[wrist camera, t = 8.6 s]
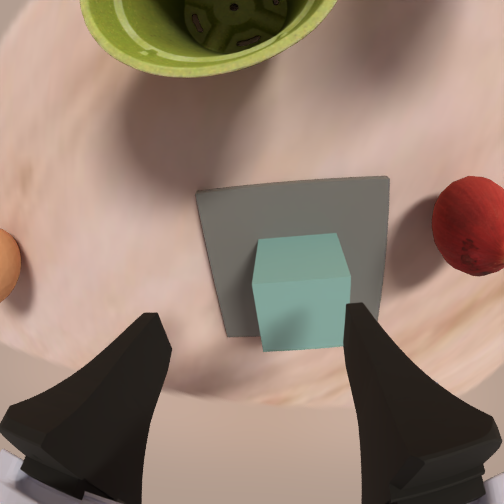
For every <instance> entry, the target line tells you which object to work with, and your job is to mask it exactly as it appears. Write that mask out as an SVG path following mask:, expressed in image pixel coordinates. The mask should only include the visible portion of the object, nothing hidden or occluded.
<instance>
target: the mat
mask: <svg viewBox="0 0 504 504" xmlns="http://www.w3.org/2000/svg"><path fill="white" fill-rule="evenodd" d="M389 188H390V179H389V178H388V177H387V176H372V177H348V178H330V179H314V180H300V181H287V182H276V183H264V184H254V185H244V186H235V187H226V188H217V189H209V190H200V191H197V192H196V193H195V196H196V200H197V205H198V210H199V215H200V220H201V225H202V229H203V234H204V239H205V243H206V248H207V252H208V257H209V261H210V266H211V270H212V274H213V279H214V283H215V287H216V291H217V296H218V300H219V304H220V308H221V312H222V316H223V321H224V325H225V329H226V333H227V337H256V336H261V335H260V329H259V323H258V317H257V312H256V306H255V300H254V294H253V288H252V280H253V273H254V266H255V260H256V253H257V246H258V239H268V238H280V237H292V236H304V235H317V234H329V233H337V236H338V239H339V242H340V245H341V248H342V251H343V254H344V257H345V260H346V263H347V266H348V269H349V272H350V275H351V289H350V303H359V302H363V303H364V304H365V306H366V307H367V308H368V310H369V311H370V313H371V314H372V315H373V317H374V318H375V319H376V321H378V315H379V308H380V301H381V293H382V285H383V277H384V267H385V257H386V245H387V232H388V215H389Z"/></svg>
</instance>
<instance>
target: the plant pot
mask: <svg viewBox="0 0 504 504" xmlns="http://www.w3.org/2000/svg"><path fill="white" fill-rule="evenodd" d="M336 2H337V0H279V3H278V5H274V2H273V0H80V6H81V11H82V14H83V17H84V20H85V24H86V26H87V28H88V30H89V31H90V33H91V35H92V36H93V38H94V39H95V40H96V41H97V43H98V44H99V45H100V46H101V47H102V48H103V49H104V50H105V51H106V52H107V53H108V54H109V55H110V56H112V57H113V58H115V59H116V60H118V61H120V62H122V63H124V64H126V65H128V66H130V67H132V68H135V69H137V70H140V71H143V72H146V73H149V74H154V75H158V76H165V77H175V78H195V77H208V76H214V75H220V74H225V73H229V72H233V71H238V70H241V69H244V68H247V67H250V66H253V65H256V64H258V63H260V62H263V61H265V60H267V59H269V58H271V57H273V56H275V55H277V54H279V53H281V52H283V51H284V50H286V49H288V48H289V47H291V46H293V45H294V44H296V43H297V42H299V41H300V40H301V39H303V38H304V37H306V36H307V35H308V34H309V33H310V32H312V31H313V30H314V29H315V28H316V27H317V26H318V25H319V24H320V23H321V22H322V21H323V20H324V19H325V18H326V16H327V15H328V14H329V12H330V11H331V10H332V8H333V7H334V5H335V4H336ZM234 3H235V4H237V5H238V10H236V11H232V10H231V9H230V5H231V4H234ZM193 14H197V16H198V20H199V23H200V25H201V27H202V28H203V32H198V31H197V28H196V26H195V24H193V22H192V16H193ZM257 35H258V36H260V39H259V40H258V41H257V42H256V43H251V44H249V45H246V46H238V45H237V42H238V41H243V40H247V39H250V38H253V37H254V36H257Z"/></svg>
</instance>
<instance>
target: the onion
mask: <svg viewBox="0 0 504 504" xmlns="http://www.w3.org/2000/svg"><path fill="white" fill-rule="evenodd" d="M432 230H433V236H434V242H435V244H436V246H437V248H438V250H439V251H440V253H441V254H442V256H443V257H444V259H445V260H446V262H447V263H448V264H450V265H451V266H452V267H453V268H455V269H457V270H460V271H462V272H465V273H467V274H470V275H472V276H484V275H488V274H491V273H494V272H497V271H500V270H501V269H502V268H504V189H503V188H502V187H501V186H499V185H498V184H496V183H494V182H493V181H491V180H490V179H487V178H484V177H475V176H467V177H465V178H462V179H460V180H457V181H455V182H453V183H451V184H450V185H449V186H448V187H447V188H446V189H445V190H444V191H443V192H441V194H440V196H439V198H438V200H437V201H436V203H435V205H434V211H433V216H432Z"/></svg>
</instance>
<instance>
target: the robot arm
mask: <svg viewBox="0 0 504 504" xmlns="http://www.w3.org/2000/svg"><path fill="white" fill-rule="evenodd" d="M343 347H344V355H345V363H346V369H347V374H348V378H349V382H350V387H351V391H352V395H353V400H354V404H355V409H356V413H357V419H358V426H359V437H360V450H361V473H362V504H504V472H502V473H500V474H498V475H496V476H494V477H492V478H490V479H488V480H486V481H484V482H483V479H482V476H481V475H483V474H484V473H485V469H484V466H483V463H484V462H485V461H487V460H488V459H489V458H490V457H491V456H492V455H493V454H494V453H495V452H496V451H497V450H498V449H499V447H500V445H501V443H502V439H501V436H500V433H499V430H498V427H497V425H496V423H495V421H494V419H493V417H492V416H490V415H488V414H486V413H484V412H482V411H480V410H478V409H476V408H474V407H472V406H470V405H469V404H467V403H465V402H464V401H462V400H461V399H459V398H457V397H456V396H454V395H453V394H451V393H450V392H449V391H447V390H446V389H444V388H443V387H442V386H440V385H439V384H438V382H435V381H434V380H432V379H431V378H430V377H429V376H428V375H426V374H425V373H424V372H423V371H422V370H421V369H420V368H419V367H418V366H416V365H415V364H414V363H413V362H412V361H411V360H410V359H409V358H408V357H407V356H406V355H405V353H404V352H403V351H402V350H401V349H400V348H399V347H398V346H397V345H396V344H395V343H394V341H393V340H392V339H391V338H390V337H389V335H388V334H387V333H386V332H385V331H384V329H383V328H382V327H381V326H380V324H379V323H378V322H377V321H376V319H375V318H374V317H373V315H372V314H371V313H370V311H369V310H368V308H367V307H366V306H365V304H364V303H363V302H359V303H348V304H346V311H345V325H344V337H343ZM171 351H172V347H171V345H170V343H169V340H168V338H167V335H166V333H165V330H164V328H163V325H162V323H161V320H160V318H159V315H158V313H143V314H142V315H141V316H140V317H139V318H138V319H136V320H135V321H134V322H133V323H132V324H131V325H130V326H129V327H128V328H127V329H126V330H125V331H124V332H123V333H122V334H120V335H119V336H118V337H117V338H116V339H115V340H114V341H113V342H112V343H111V344H110V345H109V346H108V347H106V348H105V349H104V350H103V351H102V352H101V353H100V354H98V355H97V356H96V357H95V358H94V359H93V360H92V361H90V362H89V363H88V364H87V365H85V366H84V367H83V368H81V369H80V370H79V371H77V372H76V373H74V374H73V375H72V376H70V377H68V378H67V379H65V380H64V381H62V382H61V383H59V384H57V385H56V386H54V387H52V388H50V389H48V390H47V391H45V392H43V393H41V394H39V395H36V396H34V397H32V398H30V399H27V400H25V401H22V402H19V403H17V404H14V405H11V406H10V407H9V409H8V410H7V412H6V414H5V416H4V417H3V420H2V421H1V423H0V433H1V434H2V435H3V436H4V437H5V438H6V439H7V440H8V441H9V442H10V443H12V444H13V445H14V446H15V447H16V448H17V449H18V450H20V451H21V452H22V453H23V454H24V455H26V457H25V459H24V460H22V459H21V458H19V457H17V456H16V455H14V454H12V453H10V452H9V451H7V450H5V449H2V450H1V452H0V503H1V504H141V502H142V498H141V497H142V475H143V464H144V456H145V449H146V443H147V438H148V432H149V427H150V422H151V419H152V415H153V412H154V409H155V406H156V403H157V401H158V397H159V395H160V392H161V389H162V386H163V383H164V380H165V377H166V374H167V371H168V367H169V362H170V357H171Z"/></svg>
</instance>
